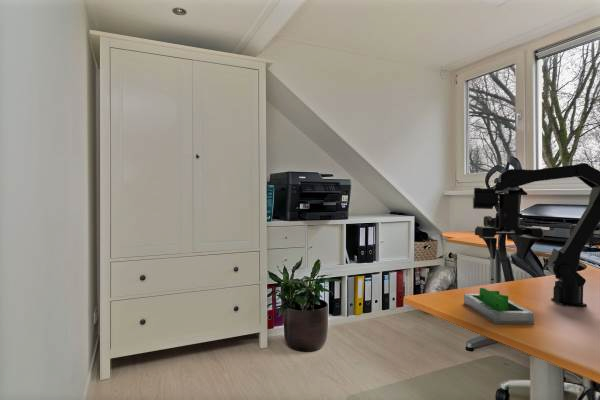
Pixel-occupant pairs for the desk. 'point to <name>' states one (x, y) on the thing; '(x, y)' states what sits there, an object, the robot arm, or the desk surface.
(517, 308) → the gray rectangular tray
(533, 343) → the desk surface
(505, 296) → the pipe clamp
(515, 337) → the desk surface
